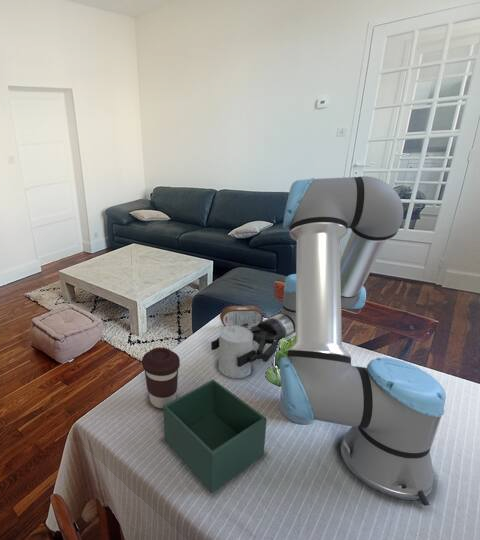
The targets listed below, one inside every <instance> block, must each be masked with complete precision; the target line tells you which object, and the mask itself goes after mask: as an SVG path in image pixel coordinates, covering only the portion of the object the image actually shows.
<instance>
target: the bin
mask: <svg viewBox="0 0 480 540" xmlns="http://www.w3.org/2000/svg"><path fill="white" fill-rule="evenodd" d="M162 410H163V429H164V441H165V443H167V445H168V446H169V447H170V448H171V449H172V451H174V452H175V454H176V455H177V456H178V457H179V458H180V459H181V460H182V461H183V462H184V464H185V465H186V466H187V467H188V468H189V470H190V471H192V473H193V474H194V475H195V476H196V477H197V478H198V480H199V481H201V483H202V484H203V485H204V486H205V487H206V488H207V489H208V491H209V492H210V493H211V494H213V493H214V492H215V491H217V490H219V489H220V488H221V487H222V486H224V485H225V484H226V483H228V482H230V480H232V479H233V478H235V477H236V476H237V475H239V474H240V473H241V472H242V471H244V470H245V469H247V468H248V467H249V466H251V465H252V464H254V463H255V462H256V461H258V460H259V459H260V458H262V457H263V456H264V453H265V443H266V441H265V440H266V431H267V421H268V420H267V419H268V418H267V417H265V416H264V415H263V414H261V413H260V412H259V411H257V410H256V409H255V408H253V407H252V406H251V405H249V404H248V403H246V402H245V401H244V400H242V399H241V398H239V397H238V396H237V395H235V394H234V393H233V392H231V391H230V390H228V389H227V388H226V387H224V386H223V385H222V384H221V383H219V382H218V381H216V380H215V379H211V380H209V381H207V382H205V383H203V384H201V385H200V386H197V387H196V388H194V389H192V390H190V391H188V392H187V393H185V394H183V395H181V396H179V397H176V399H175V400H173V401H172V402H170V403H168V404H166V405H164V406H163V408H162Z"/></svg>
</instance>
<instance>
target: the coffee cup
mask: <svg viewBox="0 0 480 540" xmlns="http://www.w3.org/2000/svg"><path fill="white" fill-rule="evenodd" d="M141 366H142V369H143V371H144V377H145V382H146V383H145V384H146V389H147V392H148V398H149V402H150V404H151V405H152V406H153V407H154V408H158V409H163V406H164V405H166V404H168V403H170V402H172V401H173V400H175V399H177V390H178V379H179V369H180V366H181V361H180V356H179V355H178V354H177V353H176V352H175V351H173V350H171V349H170V348H167V347H162V346H161V347H160V346H159V347H154V348H152V349H150V350H148V352H146V353H145V354H144V355H143V356H142V358H141Z"/></svg>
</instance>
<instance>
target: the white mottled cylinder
mask: <svg viewBox="0 0 480 540" xmlns="http://www.w3.org/2000/svg"><path fill="white" fill-rule="evenodd" d="M218 337H219V348H218V365H217V366H218V370H219V371H220V373H221V374H223V375H224V376H226V377H229V378H233V379H243V378H246V377H248V376H249V375H250V374H251V373H252V362H251V363H250V362H248V363H246V364H244V365H243V366H241V367H238V366H237V362H238V358H239V357H240V356H242V355H244V354H246V353H248V352H250V351H252V350H253V342H254V341H253V333H252V332H251V331H250V330H249V329H247V328H245V327H242V326H237V325H229V326H222V327H221V328H220V329H219V331H218Z"/></svg>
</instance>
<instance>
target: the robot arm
mask: <svg viewBox="0 0 480 540" xmlns="http://www.w3.org/2000/svg"><path fill="white" fill-rule="evenodd" d="M283 217H284V218H283V223H282V227H283V228H284V229H286V230H289V237H290V238H291V239H293V240H294V241H295V242H296V265H295V266H296V267H295V268H296V271H295V273H292V274H289V275H287V276H286V277H285V281H284V287H283V295H282V307H281V312H279V313H277V314H275V315H273V316H271V317H268V318H266V319H265V320H263V321H262V322H261V323H259V325H258V326H257V327H252V328H251V327H249V326H248V324H247V323H245V324H243V325H241V326H242V327H245V328H247V329H249V330H250V331H251V332H252V333H253V342H255V343H257V344H258V346H257V348H256V350H255V349H252V351H250V352H248V353H246V354H244V355H242V356H240V357H239V358H238V362H237V366H238V367H241V366H243V365H244V364H246V363H248V362H250V363H251V364H252V363H254V362H256V361H260V360H262V362H264V363H268V361H269V360H270V359H271V358H272V357H273V355H274V354H275V353H276V352H277V351H276V348H277V345H278V342H279V340H280V339H282V338H283V339H285V338H287V337H289V336H291V335H293V334H294V333H295V339H294V340H295V342H294V343H293V344H292V345H291V346H290V347H289V348H287V356H282V357H280V358H279V377H280V378H279V379H280V386H281V393H282V399H283V403H284V407H285V409H286V410H287V412H288V413H289V414H291V415H293V416H295V417H299V418H305V419H307V420H308V419H309V420H310V421H320V422H326V423H331V424H336V425H341V426H348V427H351V428H350V429H349V430H348V431H346V433H345V434H344V436H343V437H342V439H341V444H340V455H341V458H342V460H343V462H344V464H345V466H346V467H347V469H349V471H350V472H351V473H352V474H353V475H354V476H355V477H356V478H357V479H358V480H360V481H361V482H362V483H364V484H365V485H366V486H368V487H369V488H371V489H373V490H375V491H377V492H379V493H380V494H383V495H385V496H388V497H391V498H395V499H399V500H406V501H415V500H420V502H421V504H422V505H423V506H425V507H427V506H430V503H429V500H428V498H427V496H428V495H429V494H430V493H431V492H432V490H433V487H434V484H435V471H434V467H433V461H432V458H431V452H430V451H431V449H432V445H433V443H434V440H435V436H436V433H437V430H438V427H439V425H440V421H441V419H442V416H444V414H445V404H446V399H447V393H446V392H445V391H446V390H445V389H444V387H443V386H442V384H441V383H440V382H439V381H438V379H436V378H435V377H434V376H432V375H431V374H430V373H428V372H427V371H425V370H423V369H421V368H419V367H418V366H416V365H413V364H411V363H409V362H406V361H404V360H399V359H396V358H391V357H390V358H389V357H377V358H373V359H372V360H370V361H369V363H367V365H366V367H364V366H357V365H356V366H355V365H352V356H351V354H350V353H348V351H347V350H345V349H344V346H343V337H342V336H343V335H342V329H343V328H342V309H346V310H352V309H353V310H359V309H362V308H364V306H365V305H366V300H367V290H366V287H365V286H364V284H365V282H366V281H367V279H368V278H369V275H370V273H371V272H372V269H373V268H374V266H375V264H376V262H377V260H378V258H379V256H380V255H381V252H382V250H383V249H384V247H385V245H386V243H387V241H389V240H392V239H393V238H394V237H395V236H396V235H397V234H398V232H399V230H400V228H401V227H402V223H403V219H404V205H403V201H402V199H401V197H400V196H399V194H398V192H397V191H396V190H395V188H393V186H392V185H391V184H389V183H387V182H386V181H384V180H383V179H380V178H377V177H374V176H368V175H367V176H366V175H365V176H364V175H363V176H352V177H351V176H349V177H327V178H315V177H311V178H305V179H298V180H295V181H293V182H292V183H291V185H290V188H289V192H288V196H287V201H286V206H285V211H284V216H283ZM349 229H350V231H351V233H350V235H349V237H348V240H347V244H346V245H345V247H344V250H343V253H342V254H341V243H340V241H341V240H342V239H343V238H344V237H345V236H346V235H347V234H348V232H349V231H348V230H349ZM341 255H342V256H341ZM283 339H282V340H283ZM210 343H211V344H210V349H211V351H215V350H217V349H219V336H218V337H217V338H216V339H214V340H211V342H210ZM266 345H268V346H269V347H267V349H265V348H266Z"/></svg>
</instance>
